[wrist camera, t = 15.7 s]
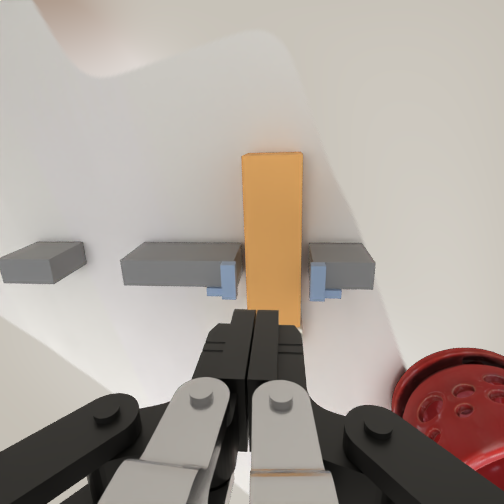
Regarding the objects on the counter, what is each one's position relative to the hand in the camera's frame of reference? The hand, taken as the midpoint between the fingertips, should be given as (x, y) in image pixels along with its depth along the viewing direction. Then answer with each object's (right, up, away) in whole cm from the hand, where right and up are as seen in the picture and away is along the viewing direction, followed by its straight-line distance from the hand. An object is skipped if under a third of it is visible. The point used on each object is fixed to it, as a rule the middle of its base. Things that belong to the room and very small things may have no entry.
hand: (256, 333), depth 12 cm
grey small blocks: (-5, +3, +18) cm, 19 cm away
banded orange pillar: (+2, +3, +17) cm, 17 cm away
